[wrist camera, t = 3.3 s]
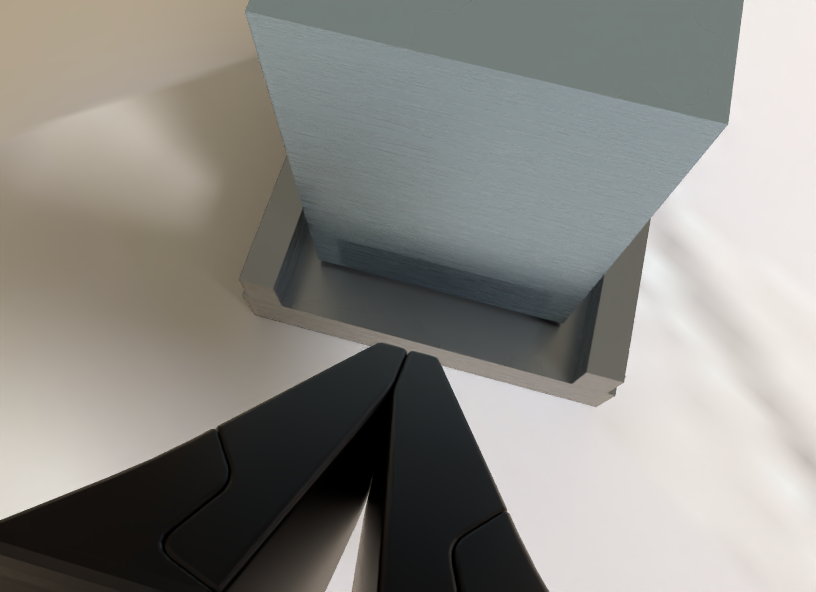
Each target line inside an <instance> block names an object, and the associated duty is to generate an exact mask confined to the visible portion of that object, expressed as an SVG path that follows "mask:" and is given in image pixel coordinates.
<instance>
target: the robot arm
mask: <svg viewBox="0 0 816 592" xmlns="http://www.w3.org/2000/svg"><path fill="white" fill-rule="evenodd" d="M368 494H369V495H368ZM367 496H368V500H367V504H366V509H365V514H364V519H363V525H362V531H361V538H360V544H359V550H358V556H357V562H356V568H355V574H354V581H353V587H352V592H549V590H548V589H547V587H546V585H545V584H544V582H543V580H542V578H541V577H540V575H539V573H538V572H537V570H536V568H535V566H534V564H533V562H532V560H531V558H530V556H529V554H528V552H527V550H526V548H525V546H524V544H523V542H522V540H521V538H520V536H519V534H518V532H517V529H516V527H515V525H514V523H513V521H512V518H511V516H510V514H509V513H507V508H506V506H505V504H504V501H503V499H502V497H501V495H500V493H499V490H498V488H497V486H496V484H495V482H494V480H493V477H492V475H491V473H490V471H489V469H488V466H487V464H486V462H485V460H484V458H483V456H482V453H481V451H480V449H479V447H478V445H477V442H476V440H475V438H474V436H473V434H472V432H471V429H470V427H469V425H468V423H467V421H466V418H465V416H464V414H463V412H462V410H461V408H460V405H459V403H458V401H457V399H456V397H455V394H454V392H453V390H452V388H451V386H450V384H449V381H448V379H447V377H446V375H445V373H444V370H443V368H442V366H441V364H440V362H439V360H438V359H437V358H436V357H434V356H431V355H427V354H423V353H420V352H416V351H410V352H409V353H408V354H407V351H406V350H405V349H404V348H401V347H397V346H394V345H390V344H386V343H381V342H380V343H377V344H375V345H373V346H371V347H369V348H367V349H365V350H363V351H361V352H359V353H358V354H356V355H354V356H352V357H350V358H348V359H346V360H344V361H342V362H340V363H338V364H336V365H334V366H333V367H331V368H329V369H327V370H325V371H323V372H321V373H319V374H317V375H315V376H313V377H311V378H309V379H307V380H306V381H304V382H302V383H300V384H298V385H296V386H294V387H292V388H290V389H288V390H286V391H284V392H282V393H281V394H279V395H277V396H275V397H273V398H271V399H269V400H267V401H265V402H263V403H261V404H259V405H257V406H256V407H254V408H252V409H250V410H248V411H246V412H244V413H242V414H240V415H238V416H236V417H234V418H232V419H231V420H229V421H227V422H225V423H223V424H221V425H219V426H218V427H217V428H216V429H211V430H209V431H207V432H205V433H203V434H201V435H199V436H197V437H195V438H193V439H191V440H190V441H187V442H185V443H183V444H181V445H179V446H177V447H175V448H173V449H171V450H169V451H167V452H165V453H163V454H161V455H159V456H157V457H154V458H152V459H150V460H148V461H145V462H143V463H141V464H138V465H136V466H134V467H131V468H129V469H126V470H124V471H122V472H119V473H117V474H115V475H112V476H110V477H108V478H105V479H103V480H100V481H98V482H95V483H93V484H90V485H88V486H85V487H83V488H80V489H77V490H75V491H72V492H70V493H67V494H65V495H62V496H60V497H57V498H55V499H52V500H50V501H47V502H45V503H42V504H40V505H37V506H35V507H32V508H30V509H27V510H25V511H22V512H20V513H17V514H15V515H12V516H10V517H7V518H5V519H2V520H0V592H325V591H326V589H327V586H328V584H329V582H330V580H331V578H332V575H333V573H334V571H335V569H336V567H337V565H338V562H339V560H340V558H341V556H342V554H343V552H344V549H345V547H346V545H347V543H348V541H349V539H350V536H351V534H352V532H353V530H354V528H355V526H356V523H357V521H358V519H359V517H360V514H361V512H362V510H363V507H364V505H365V502H366V499H367Z"/></svg>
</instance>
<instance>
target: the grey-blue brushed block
mask: <svg viewBox="0 0 816 592" xmlns="http://www.w3.org/2000/svg"><path fill="white" fill-rule="evenodd" d="M743 1H744V0H250V1H249V3H248V5H247V7H246V10H245V13H246V17H247V20H248V23H249V27H250V30H251V34H252V37H253V40H254V44H255V47H256V51H257V54H258V57H259V61H260V64H261V68H262V71H263V74H264V78H265V81H266V84H267V88H268V91H269V95H270V98H271V101H272V105H273V108H274V112H275V115H276V118H277V122H278V125H279V128H280V132H281V135H282V139H283V142H284V145H285V149H286V152H287V156H288V159H289V162H290V166H291V169H292V173H293V176H294V179H295V183H296V186H297V189H298V193H299V196H300V200H301V203H302V206H303V210H304V213H305V217H306V220H307V223H308V227H309V230H310V234H311V237H312V240H313V244H314V247H315V250H316V254H317V257H318V260H322V261H326V262H329V263H333V264H337V265H341V266H345V267H349V268H352V269H356V270H360V271H364V272H368V273H371V274H375V275H379V276H383V277H387V278H391V279H394V280H398V281H402V282H406V283H410V284H413V285H417V286H421V287H425V288H429V289H433V290H436V291H440V292H444V293H448V294H452V295H456V296H459V297H463V298H467V299H471V300H475V301H478V302H482V303H486V304H490V305H494V306H498V307H501V308H505V309H509V310H513V311H517V312H520V313H524V314H528V315H532V316H536V317H540V318H543V319H547V320H551V321H555V322H559V323H563V324H564V322H565V321H566V320H567V319H568V318H569V316H570V315H571V314H572V313H573V311H574V310H575V309H576V308H577V307H578V305H579V304H580V303H581V302H582V301H583V299H584V298H585V297H586V296H587V295H588V293H589V292H590V291H591V290H592V288H593V287H594V286H595V285H596V284H597V282H598V281H599V280H600V279H601V278H602V276H603V275H604V274H605V273H606V272H607V270H608V269H609V268H610V267H611V265H612V264H613V263H614V262H615V261H616V259H617V258H618V257H619V256H620V255H621V253H622V252H623V251H624V250H625V248H626V247H627V246H628V245H629V244H630V242H631V241H632V240H633V239H634V238H635V236H636V235H637V234H638V233H639V232H640V230H641V229H642V228H643V227H644V225H645V224H646V223H647V222H648V221H649V219H650V218H651V217H652V216H653V215H654V213H655V212H656V211H657V210H658V209H659V207H660V206H661V205H662V204H663V202H664V201H665V200H666V199H667V198H668V196H669V195H670V194H671V193H672V192H673V190H674V189H675V188H676V187H677V186H678V184H679V183H680V182H681V181H682V179H683V178H684V177H685V176H686V175H687V173H688V172H689V171H690V170H691V169H692V167H693V166H694V165H695V164H696V163H697V161H698V160H699V159H700V158H701V156H702V155H703V154H704V153H705V152H706V150H707V149H708V148H709V147H710V146H711V144H712V143H713V142H714V141H715V140H716V138H717V137H718V136H719V135H720V133H721V132H722V131H723V130H724V129H725V127H726V126H727V125H728V121H729V113H730V105H731V97H732V89H733V81H734V73H735V65H736V57H737V49H738V41H739V33H740V25H741V17H742V9H743Z"/></svg>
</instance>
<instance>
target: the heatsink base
mask: <svg viewBox="0 0 816 592" xmlns="http://www.w3.org/2000/svg"><path fill="white" fill-rule="evenodd" d="M650 219H651V218H650ZM650 219H649V221H648V222H647V223H646V224H645V225H644V227H643V228H642V229H641V230H640V232H639V233H638V234H637V235H636V236H635V238H634V239H633V240H632V241H631V242H630V244H629V245H628V246H627V247H626V248H625V250H624V251H623V252H622V253H621V255H620V256H619V257H618V258H617V259H616V261H615V262H614V263H613V264H612V265H611V267H610V268H609V269H608V270H607V272H606V273H605V274H604V275H603V276H602V278H601V279H600V280H599V281H598V282H597V284H596V285H595V286H594V287H593V288H592V290H591V291H590V292H589V293H588V295H587V296H586V297H585V298H584V299H583V301H582V302H581V303H580V304H579V305H578V307H577V308H576V309H575V310H574V311H573V313H572V314H571V315H570V316H569V318H568V319H567V320H566V321H565V322H564V324H563V323H559V322H555V321H551V320H547V319H543V318H540V317H536V316H532V315H528V314H524V313H520V312H517V311H513V310H509V309H505V308H501V307H498V306H494V305H490V304H486V303H482V302H478V301H475V300H471V299H467V298H463V297H459V296H456V295H452V294H448V293H444V292H440V291H436V290H433V289H429V288H425V287H421V286H417V285H413V284H410V283H406V282H402V281H398V280H394V279H391V278H387V277H383V276H379V275H375V274H371V273H368V272H364V271H360V270H356V269H352V268H349V267H345V266H341V265H337V264H333V263H329V262H326V261H322V260H318V257H317V254H316V250H315V247H314V244H313V240H312V237H311V234H310V230H309V227H308V223H307V220H306V217H305V213H304V210H303V206H302V203H301V200H300V196H299V193H298V189H297V186H296V183H295V179H294V176H293V173H292V169H291V166H290V162H289V159H288V156H286V159H285V161H284V164H283V166H282V169H281V172H280V174H279V177H278V179H277V182H276V185H275V187H274V190H273V192H272V195H271V197H270V200H269V203H268V205H267V208H266V210H265V213H264V216H263V218H262V221H261V223H260V226H259V228H258V231H257V234H256V236H255V239H254V241H253V244H252V247H251V249H250V252H249V254H248V257H247V259H246V262H245V265H244V267H243V270H242V272H241V275H240V278H239V281H240V283H241V284H242V286H243V287H244V289H245V290H244V292H243V295H242V296H243V297H244V299H245V300H246V302H247V303H248V305H249V306H250V308H251V309H252V311H253V312H254V314H255V315H258V316H261V317H265V318H269V319H272V320H276V321H280V322H284V323H287V324H291V325H295V326H298V327H302V328H306V329H309V330H313V331H317V332H321V333H324V334H328V335H332V336H335V337H339V338H343V339H346V340H350V341H354V342H358V343H361V344H365V345H369V346H373V345H375V344H377V343H380V342H381V343H386V344H390V345H394V346H397V347H401V348H404V349H405V350H406V351H407V354H408V353H409V352H410V351H416V352H420V353H423V354H427V355H431V356H434V357H436V358H437V359H438V360H439V362H440V364H441V365H443V366H446V367H450V368H454V369H457V370H461V371H465V372H469V373H472V374H476V375H480V376H483V377H487V378H491V379H494V380H498V381H502V382H506V383H509V384H513V385H517V386H520V387H524V388H528V389H531V390H535V391H539V392H543V393H546V394H550V395H554V396H557V397H561V398H565V399H568V400H572V401H576V402H580V403H583V404H587V405H591V406H594V407H597V406H599V405H600V404H602V403H604V402H605V401H607V400H609V399H610V398H612V397H614V396H615V394H616V388H617V386H619V385H621V384H622V383H624V379H625V372H626V366H627V360H628V354H629V348H630V342H631V336H632V330H633V323H634V317H635V311H636V305H637V299H638V293H639V287H640V281H641V275H642V268H643V262H644V256H645V250H646V244H647V238H648V232H649V226H650Z"/></svg>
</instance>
